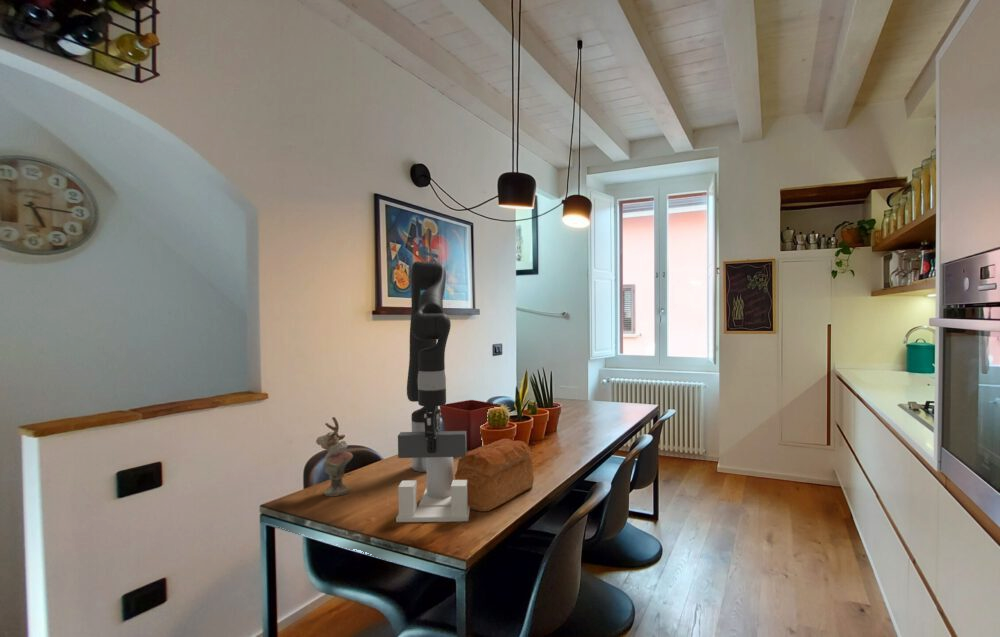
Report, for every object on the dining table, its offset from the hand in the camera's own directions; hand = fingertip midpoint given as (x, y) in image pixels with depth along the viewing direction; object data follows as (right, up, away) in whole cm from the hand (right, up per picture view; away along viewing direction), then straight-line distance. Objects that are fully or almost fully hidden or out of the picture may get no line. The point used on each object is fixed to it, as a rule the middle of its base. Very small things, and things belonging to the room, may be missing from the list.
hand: (433, 450), depth 134 cm
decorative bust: (-34, -19, +21) cm, 44 cm away
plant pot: (+6, -18, +75) cm, 77 cm away
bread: (+17, -18, +16) cm, 29 cm away
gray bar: (0, -1, 0) cm, 1 cm away
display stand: (0, -18, +8) cm, 20 cm away
